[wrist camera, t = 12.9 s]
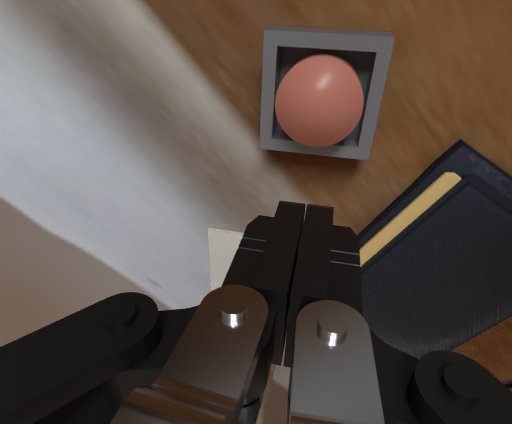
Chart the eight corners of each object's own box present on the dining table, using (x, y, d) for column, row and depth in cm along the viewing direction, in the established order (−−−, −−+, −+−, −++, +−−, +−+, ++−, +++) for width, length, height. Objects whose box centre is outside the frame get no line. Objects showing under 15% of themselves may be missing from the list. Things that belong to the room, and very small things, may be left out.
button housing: (389, 31, 22) (395, 37, 19) (365, 144, 25) (368, 160, 23) (272, 25, 23) (264, 29, 20) (267, 133, 27) (259, 148, 24)
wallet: (407, 386, 35) (283, 307, 32) (404, 369, 36) (285, 292, 34) (632, 272, 24) (475, 142, 22) (614, 255, 26) (465, 132, 23)
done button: (369, 55, 20) (372, 62, 19) (353, 138, 23) (354, 151, 21) (283, 49, 21) (277, 55, 19) (278, 130, 24) (272, 142, 22)
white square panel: (331, 246, 31) (331, 248, 30) (316, 324, 36) (316, 327, 36) (209, 227, 32) (207, 230, 32) (212, 305, 38) (211, 308, 37)
